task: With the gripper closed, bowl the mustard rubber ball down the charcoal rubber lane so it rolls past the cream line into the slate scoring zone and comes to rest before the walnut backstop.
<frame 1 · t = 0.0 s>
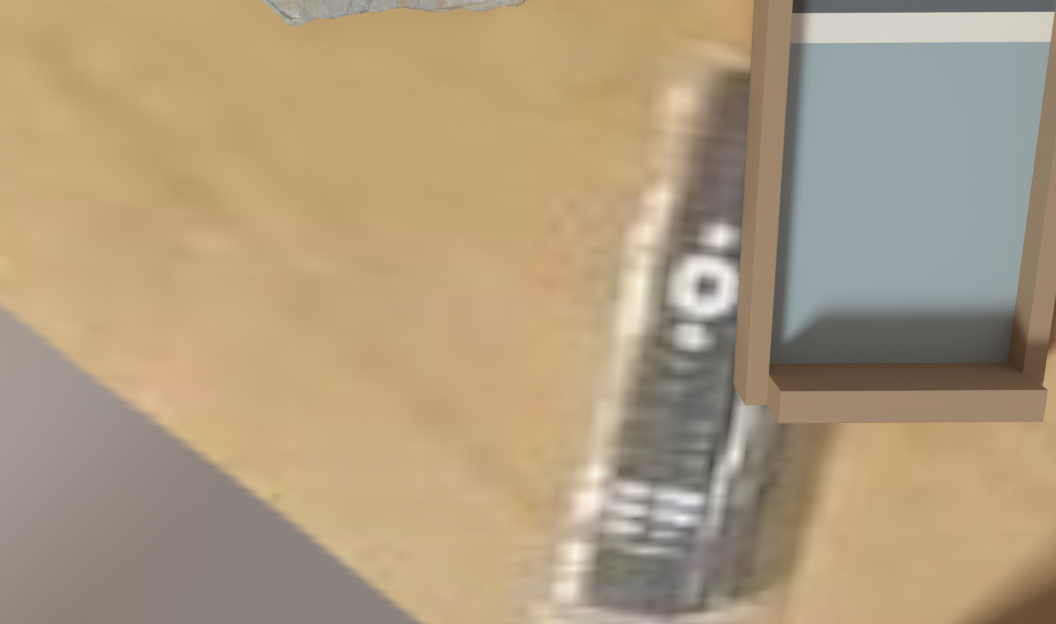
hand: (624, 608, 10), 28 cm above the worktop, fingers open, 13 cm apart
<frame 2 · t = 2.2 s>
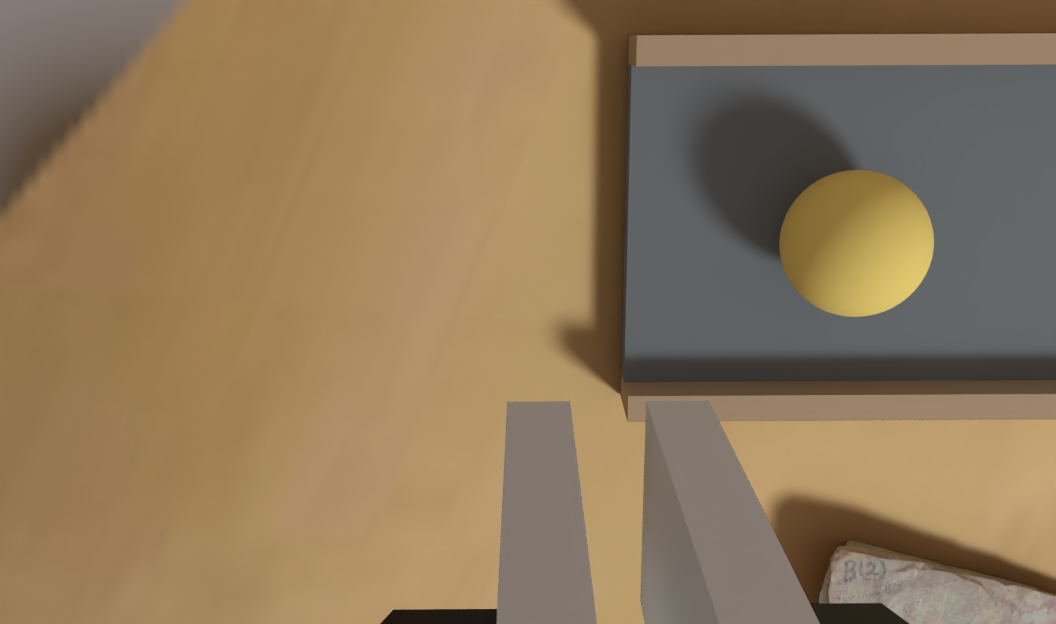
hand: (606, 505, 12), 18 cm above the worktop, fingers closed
ball: (854, 243, 27), point 3 cm above the worktop, touching lane
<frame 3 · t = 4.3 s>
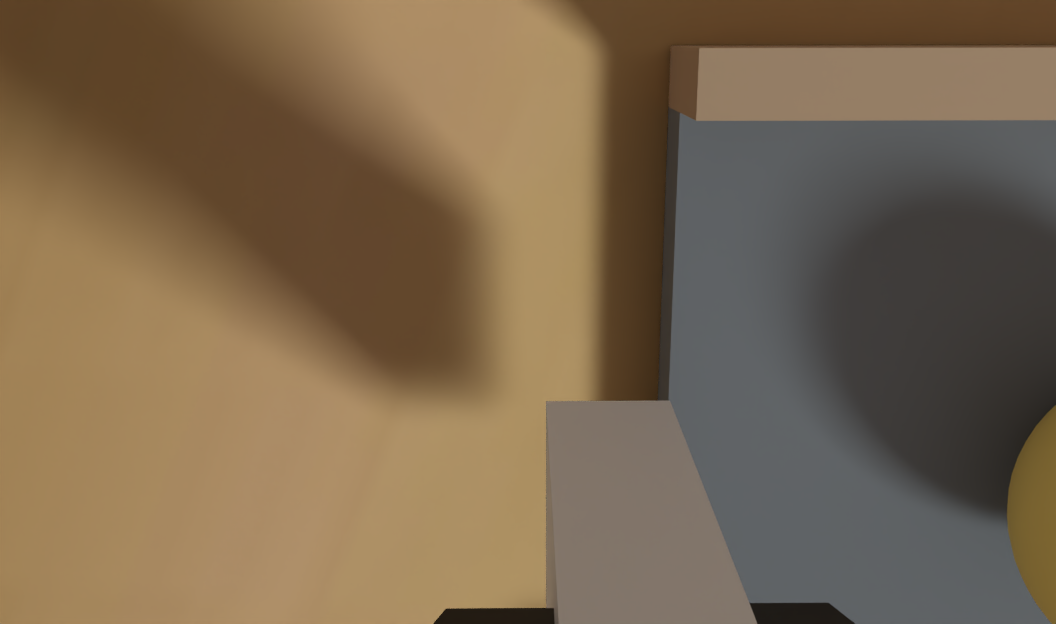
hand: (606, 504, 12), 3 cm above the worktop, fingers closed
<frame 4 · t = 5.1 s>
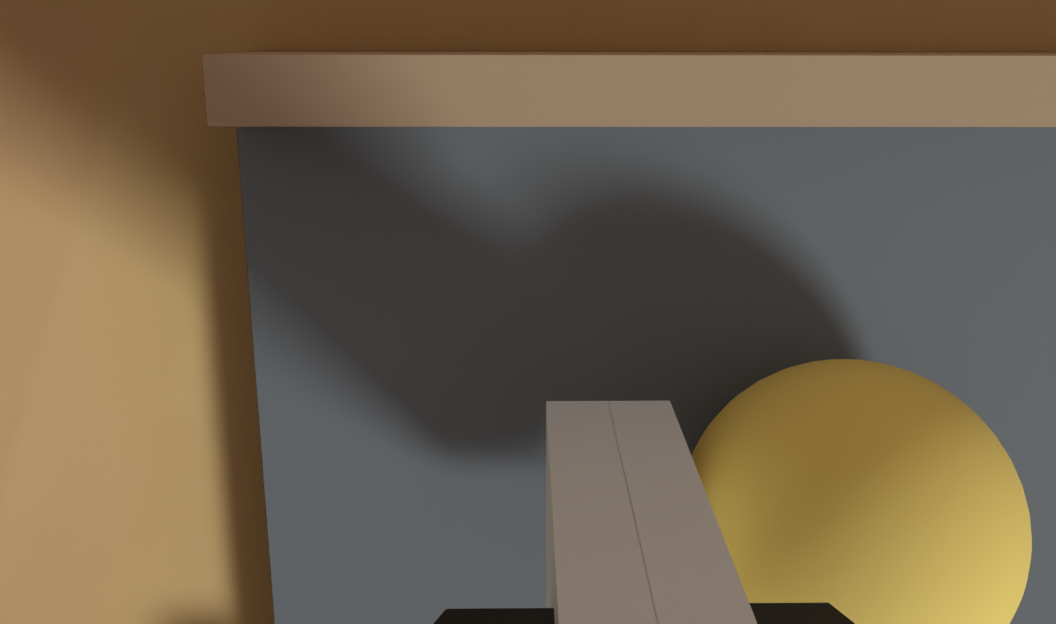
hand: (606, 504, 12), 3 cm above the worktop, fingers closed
ball: (846, 524, 12), point 3 cm above the worktop, tilted 41°, touching lane
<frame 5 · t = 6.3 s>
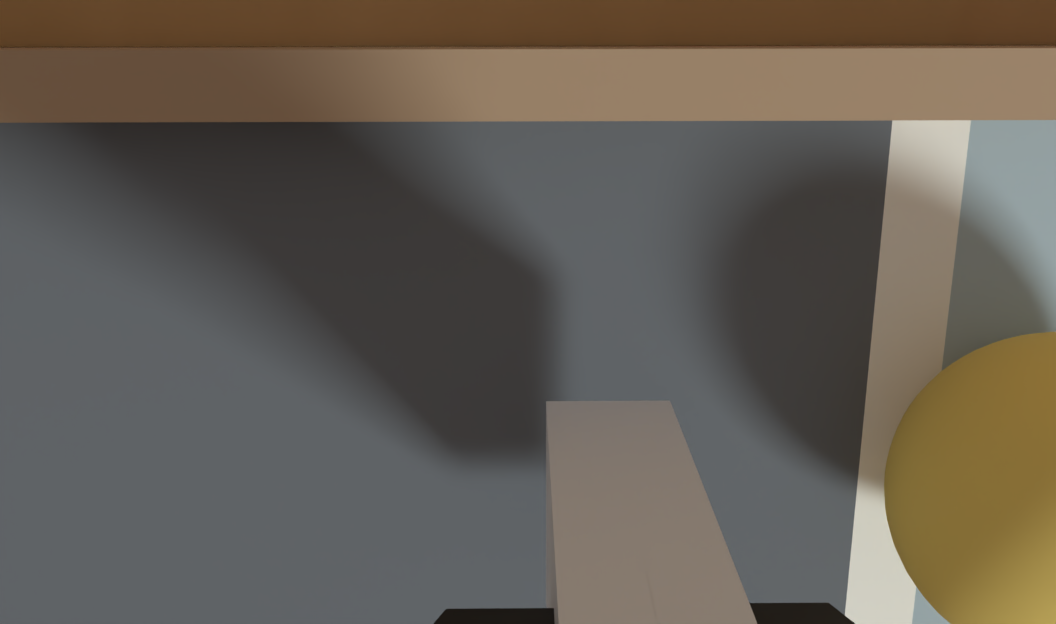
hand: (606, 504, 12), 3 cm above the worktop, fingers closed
lane: (704, 428, 15), on the worktop
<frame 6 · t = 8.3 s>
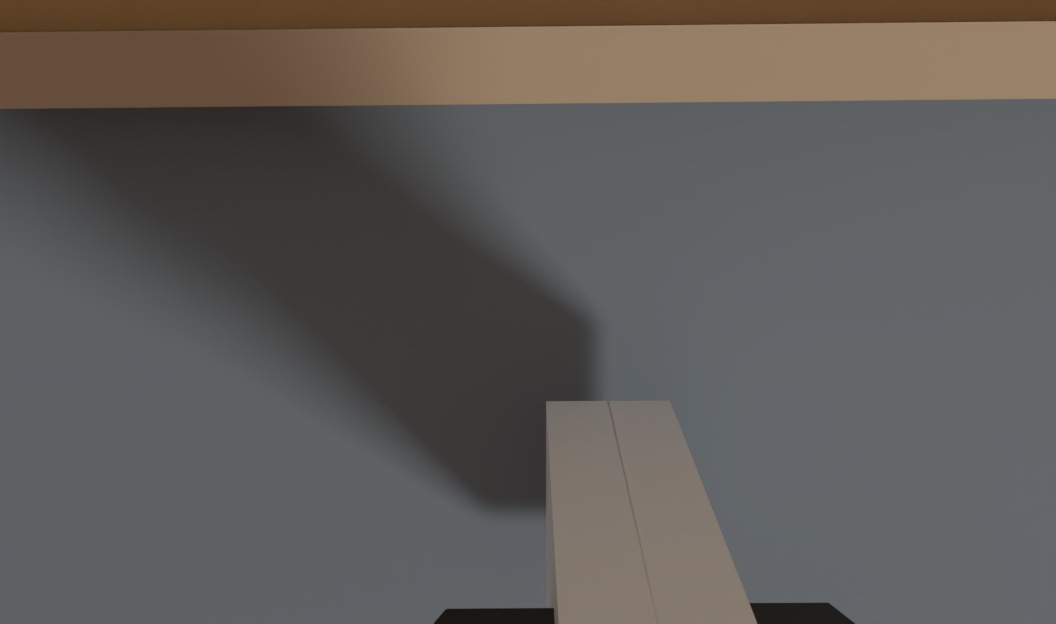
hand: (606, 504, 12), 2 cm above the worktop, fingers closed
lane: (992, 425, 14), on the worktop
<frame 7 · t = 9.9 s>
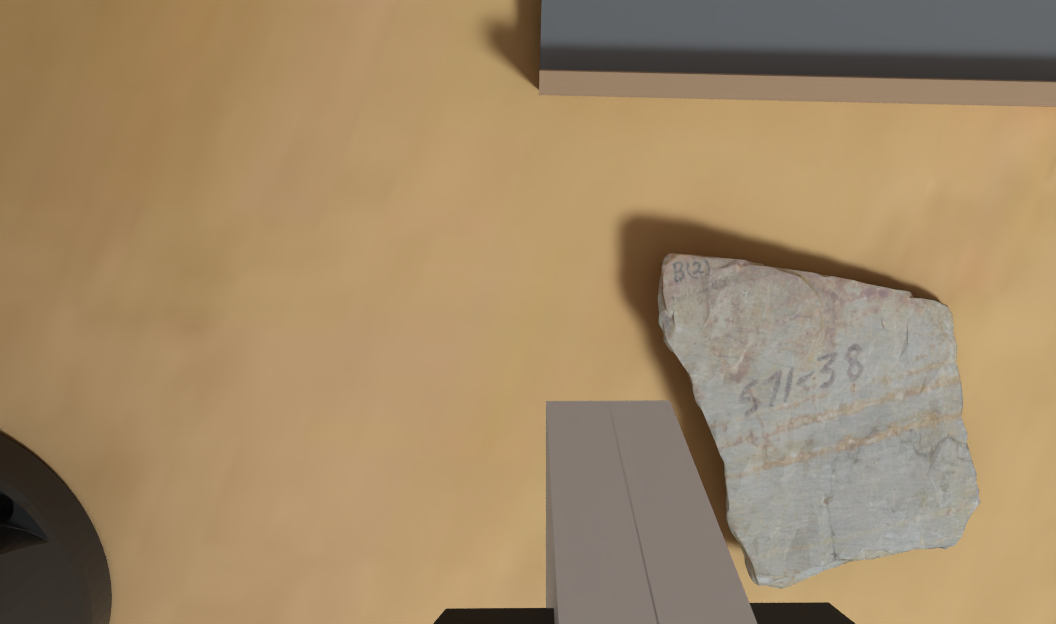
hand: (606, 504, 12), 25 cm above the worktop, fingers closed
stone: (798, 420, 40), on the worktop
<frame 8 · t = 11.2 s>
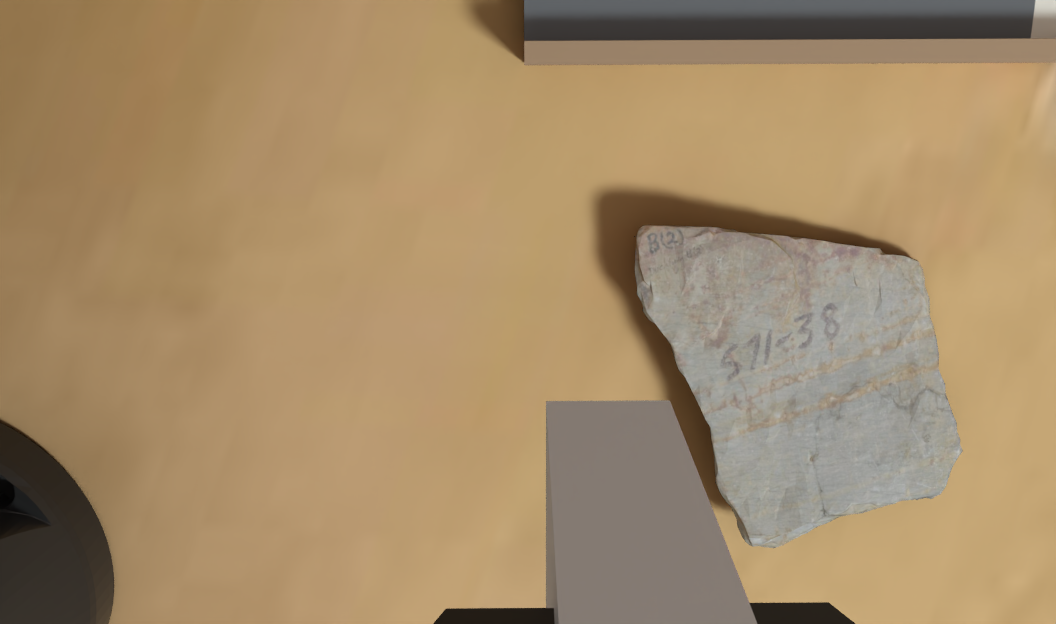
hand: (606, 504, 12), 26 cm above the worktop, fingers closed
stone: (780, 383, 41), on the worktop
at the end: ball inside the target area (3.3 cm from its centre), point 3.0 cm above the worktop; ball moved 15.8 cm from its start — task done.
